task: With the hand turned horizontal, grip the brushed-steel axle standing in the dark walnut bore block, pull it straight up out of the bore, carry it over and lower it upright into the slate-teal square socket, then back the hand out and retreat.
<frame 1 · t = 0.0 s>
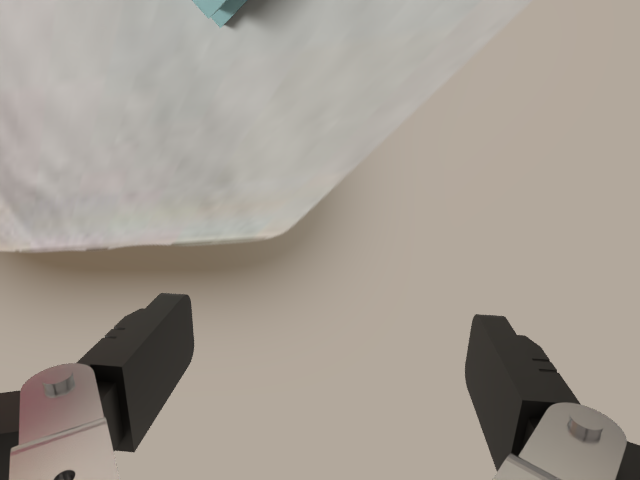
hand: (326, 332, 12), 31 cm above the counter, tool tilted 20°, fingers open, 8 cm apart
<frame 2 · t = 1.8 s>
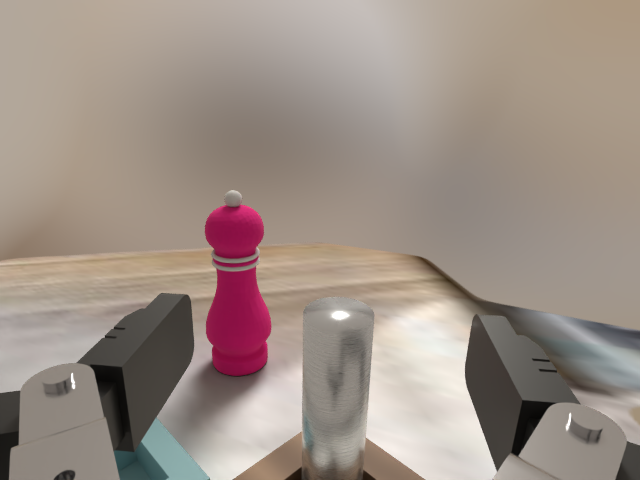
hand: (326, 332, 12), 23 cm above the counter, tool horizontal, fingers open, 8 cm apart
axle: (333, 439, 28), in the bore block
pepper mill: (240, 361, 51), on the counter
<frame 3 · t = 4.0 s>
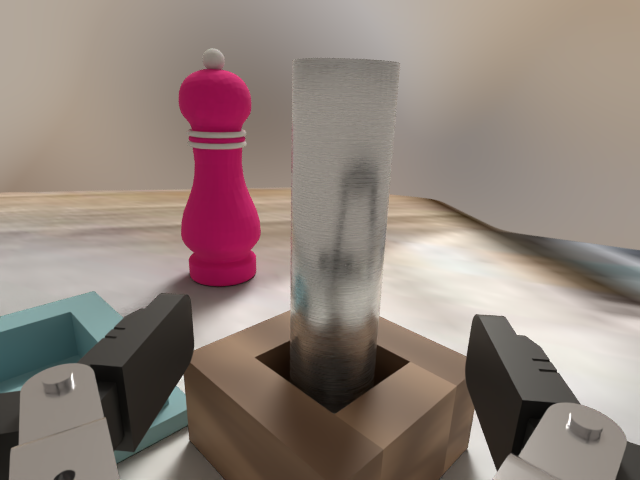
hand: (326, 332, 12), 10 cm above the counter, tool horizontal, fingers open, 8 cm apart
socket: (39, 415, 23), on the counter
bore block: (328, 443, 22), on the counter
axle: (336, 282, 19), in the bore block
pepper mill: (223, 275, 42), on the counter
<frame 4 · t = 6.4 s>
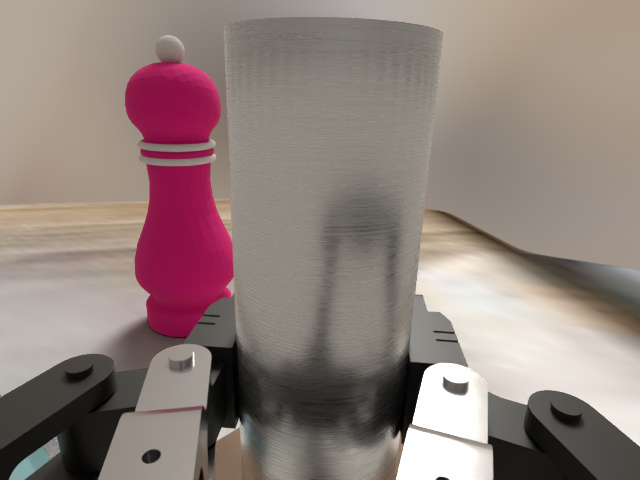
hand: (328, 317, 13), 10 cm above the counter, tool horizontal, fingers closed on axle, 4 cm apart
axle: (319, 423, 11), in the bore block, touching gripper
pepper mill: (191, 319, 34), on the counter
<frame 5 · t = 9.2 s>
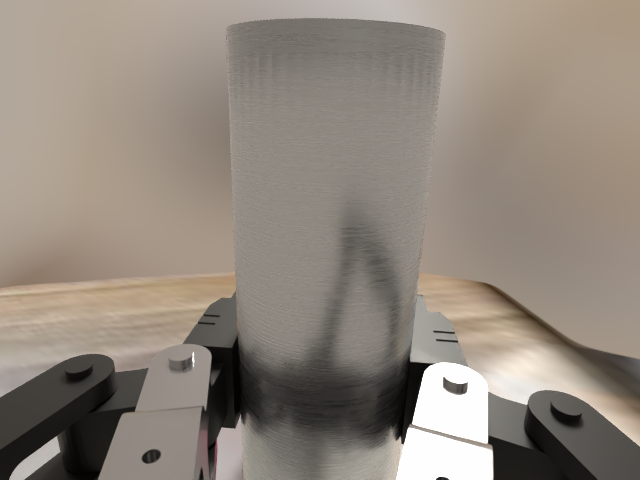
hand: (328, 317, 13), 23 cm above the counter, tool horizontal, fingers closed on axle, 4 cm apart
axle: (321, 424, 11), point 22 cm above the counter, touching gripper
when the fingers open (12 cm above the counter, at t = 12.1 s): axle stays where it is, resting on socket.
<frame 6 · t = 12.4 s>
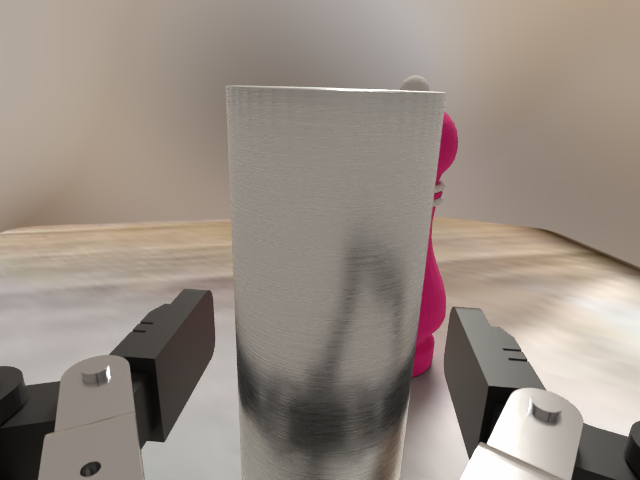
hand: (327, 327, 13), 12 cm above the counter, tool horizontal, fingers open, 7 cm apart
axle: (320, 460, 11), in the socket, point 10 cm above the counter
pepper mill: (389, 356, 33), on the counter
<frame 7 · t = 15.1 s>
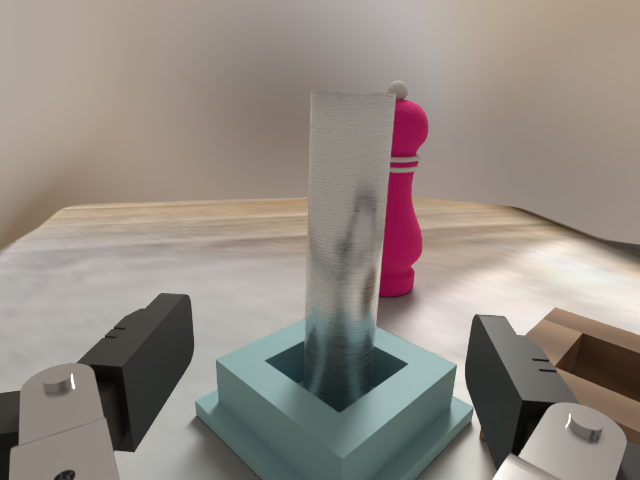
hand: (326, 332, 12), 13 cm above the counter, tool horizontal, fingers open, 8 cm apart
socket: (334, 417, 27), on the counter
bore block: (599, 440, 26), on the counter
axle: (343, 268, 24), in the socket, point 10 cm above the counter
pepper mill: (382, 285, 46), on the counter
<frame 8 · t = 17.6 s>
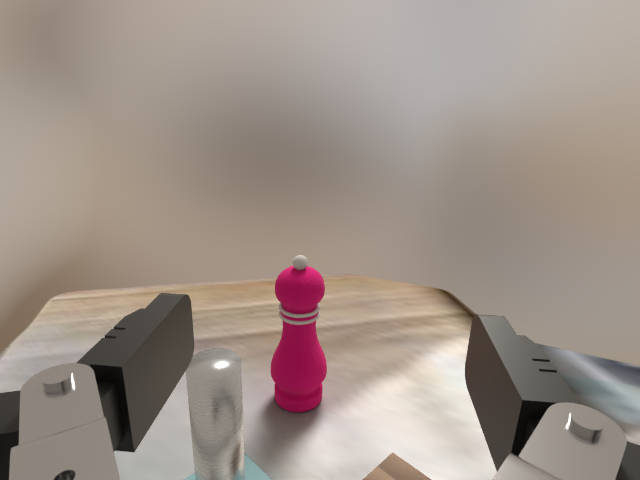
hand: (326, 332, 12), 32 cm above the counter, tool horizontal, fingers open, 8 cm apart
axle: (219, 456, 35), in the socket, point 10 cm above the counter
pepper mill: (298, 397, 58), on the counter
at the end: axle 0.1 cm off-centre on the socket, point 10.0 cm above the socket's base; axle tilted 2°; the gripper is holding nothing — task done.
